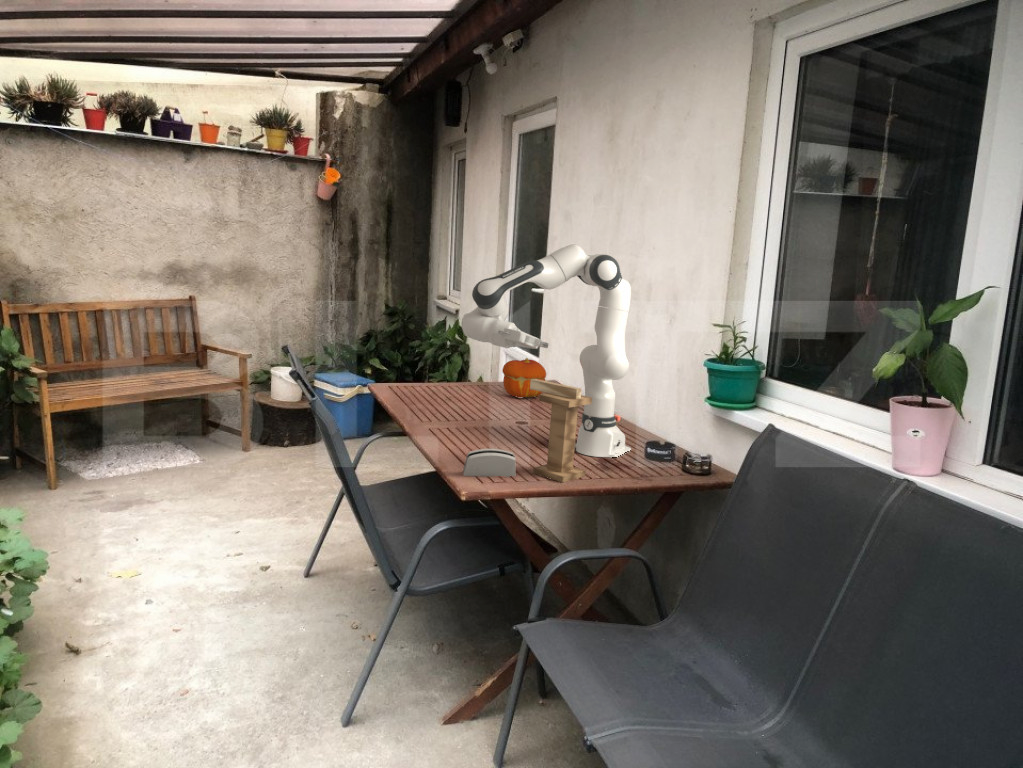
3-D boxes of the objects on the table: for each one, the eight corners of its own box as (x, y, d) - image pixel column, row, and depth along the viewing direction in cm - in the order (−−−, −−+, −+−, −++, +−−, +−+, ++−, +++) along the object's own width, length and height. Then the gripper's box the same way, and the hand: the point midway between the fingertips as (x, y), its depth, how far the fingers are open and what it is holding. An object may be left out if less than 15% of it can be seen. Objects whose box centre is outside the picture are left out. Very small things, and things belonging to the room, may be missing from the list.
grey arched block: (513, 472, 235) (517, 446, 230) (515, 481, 230) (519, 455, 226) (462, 471, 232) (464, 445, 227) (463, 480, 228) (465, 454, 223)
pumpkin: (521, 403, 350) (524, 362, 346) (491, 394, 366) (494, 355, 363) (555, 399, 365) (558, 360, 362) (524, 391, 381) (527, 353, 378)
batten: (534, 388, 241) (535, 379, 240) (580, 398, 228) (581, 388, 228) (529, 389, 239) (530, 379, 238) (576, 399, 226) (576, 389, 226)
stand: (556, 467, 243) (562, 391, 239) (585, 476, 235) (592, 397, 231) (533, 473, 234) (539, 394, 230) (562, 482, 227) (569, 401, 222)
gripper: (498, 321, 235) (538, 330, 230) (517, 329, 254) (554, 338, 250) (493, 340, 235) (532, 350, 230) (512, 346, 254) (549, 356, 250)
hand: (544, 344), depth 240 cm, fingers open, 8 cm apart
